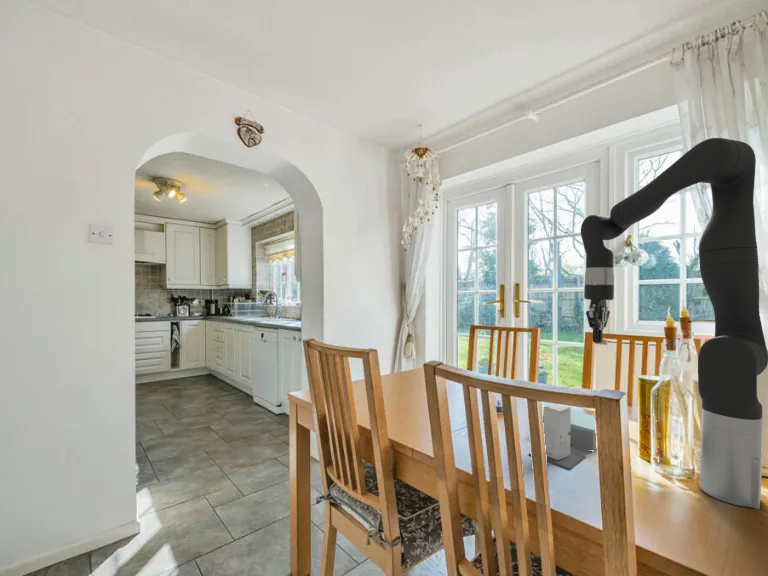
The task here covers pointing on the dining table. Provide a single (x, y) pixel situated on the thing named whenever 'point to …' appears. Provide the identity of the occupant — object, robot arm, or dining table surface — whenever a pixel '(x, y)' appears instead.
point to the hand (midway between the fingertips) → (597, 342)
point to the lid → (583, 421)
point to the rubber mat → (567, 460)
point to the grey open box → (582, 439)
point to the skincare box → (557, 430)
